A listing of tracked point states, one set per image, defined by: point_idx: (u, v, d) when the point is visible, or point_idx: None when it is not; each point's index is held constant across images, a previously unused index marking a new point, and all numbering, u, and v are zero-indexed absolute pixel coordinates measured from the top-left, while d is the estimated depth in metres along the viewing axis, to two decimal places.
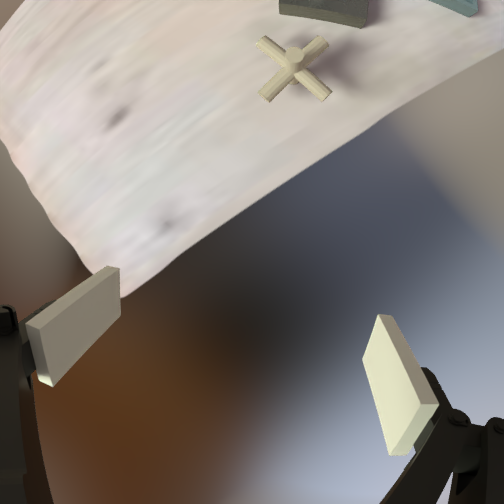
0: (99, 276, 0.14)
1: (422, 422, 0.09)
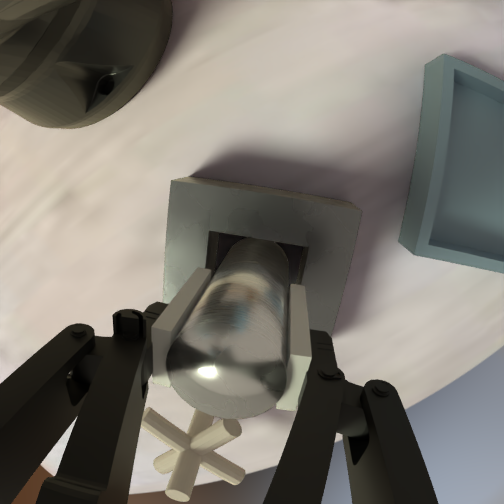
0: (197, 277, 0.16)
1: (298, 374, 0.11)
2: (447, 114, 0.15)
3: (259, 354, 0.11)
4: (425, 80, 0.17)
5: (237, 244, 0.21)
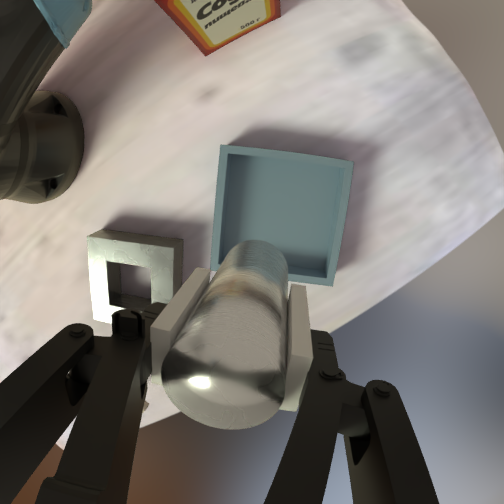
0: (196, 277, 0.16)
1: (299, 375, 0.11)
2: (221, 185, 0.32)
3: (257, 365, 0.10)
4: None
5: (235, 248, 0.21)
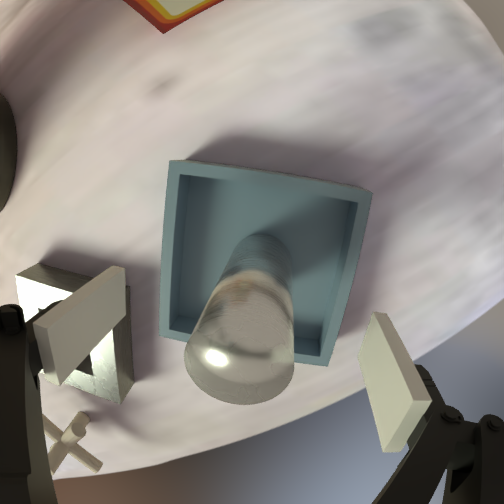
0: (105, 275, 0.14)
1: (415, 418, 0.09)
2: (171, 222, 0.21)
3: (269, 344, 0.12)
4: None
5: (243, 242, 0.22)
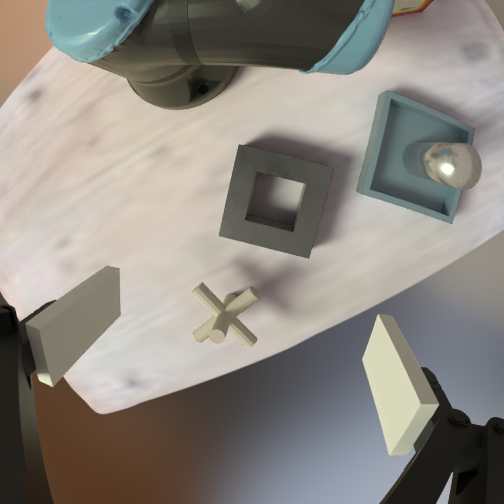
0: (98, 276, 0.14)
1: (422, 422, 0.09)
2: (383, 122, 0.33)
3: (475, 157, 0.24)
4: (377, 103, 0.35)
5: (414, 143, 0.34)
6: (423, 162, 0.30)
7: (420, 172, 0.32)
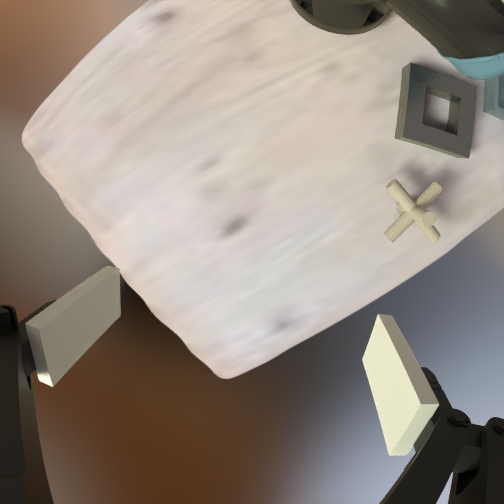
0: (98, 276, 0.14)
1: (422, 422, 0.09)
2: None
3: None
4: None
5: None
6: None
7: None
